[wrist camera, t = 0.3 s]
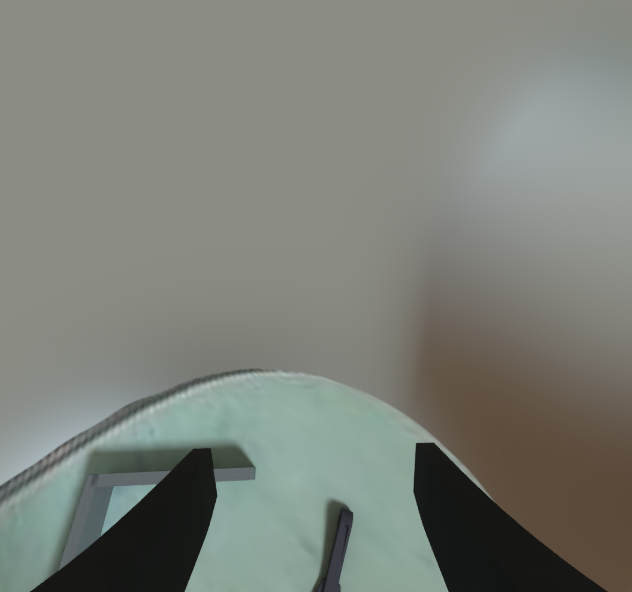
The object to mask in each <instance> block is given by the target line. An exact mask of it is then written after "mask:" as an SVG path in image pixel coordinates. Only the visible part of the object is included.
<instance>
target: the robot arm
mask: <svg viewBox="0 0 632 592" xmlns="http://www.w3.org/2000/svg"><path fill="white" fill-rule="evenodd" d="M413 491H414V495H415V499H416V503H417V506H418V510H419V513H420V517H421V520H422V524H423V527H424V529H425V532H426V535H427V537H428V540H429V542H430V545H431V548H432V550H433V553H434V555H435V558H436V561H437V563H438V566H439V568H440V571H441V573H442V576H443V578H444V581H445V584H446V586H447V589H448V591H449V592H607V591H606V590H604V589H603V588H602V587H600V586H599V585H597V584H596V583H595V582H593V581H592V580H590V579H589V578H587V577H586V576H585V575H583V574H582V573H580V572H579V571H578V570H576V569H575V568H574V567H572V566H571V565H570V564H568V563H567V562H566V561H564V560H563V559H561V558H560V557H559V556H558V555H557V554H556V553H554V552H553V551H552V550H550V549H549V548H548V547H547V546H545V545H544V544H543V543H542V542H540V541H539V540H537V539H536V538H535V537H534V536H533V535H532V534H530V533H529V532H528V531H527V530H525V529H524V528H523V527H522V526H521V525H520V524H518V523H517V522H516V521H515V520H514V519H513V518H512V517H510V516H509V515H508V514H507V513H506V512H505V511H504V510H502V509H501V508H500V507H499V506H498V505H497V504H496V503H495V502H494V501H492V500H491V499H490V498H489V497H488V496H487V495H486V494H485V493H484V492H483V491H482V490H481V489H480V488H479V487H478V486H477V485H476V484H475V483H474V482H472V481H471V480H470V479H469V478H468V477H467V476H466V475H465V474H464V473H463V472H462V471H461V470H460V469H459V468H458V467H457V466H456V465H455V464H454V463H453V462H452V461H451V460H450V459H449V458H448V457H447V455H446V454H445V453H444V452H443V451H442V450H441V449H440V448H439V447H438V446H437V445H436V444H435V443H416V453H415V471H414V490H413ZM216 499H217V490H216V483H215V476H214V469H213V461H212V454H211V448H204V449H193V450H192V451H191V452H190V453H189V454H188V455H187V456H186V457H185V458H184V459H183V460H182V461H181V462H180V463H179V464H178V465H177V466H176V467H175V468H174V469H173V470H172V471H171V472H170V473H168V474H167V475H166V476H165V477H164V478H163V479H162V480H161V481H160V482H159V483H158V484H157V485H156V486H155V487H154V488H153V489H152V490H151V491H150V492H149V493H148V494H147V495H146V496H145V497H144V498H143V499H142V500H141V501H140V502H139V503H138V504H137V505H135V506H134V507H133V508H132V509H131V510H130V511H129V512H128V513H127V514H125V515H124V516H123V517H122V518H121V519H120V520H119V521H118V522H117V523H116V524H114V525H113V526H112V527H111V528H110V529H109V530H108V531H107V532H105V533H104V534H103V535H102V536H101V537H100V538H98V539H97V540H96V541H95V542H94V543H92V544H91V545H90V546H89V547H88V548H86V549H85V550H84V551H83V552H81V553H80V554H79V555H78V556H76V557H75V558H74V559H73V560H71V561H70V562H69V563H68V564H66V565H65V566H64V567H63V568H61V569H60V570H59V571H57V572H56V573H55V574H53V575H52V576H51V577H49V578H48V579H47V580H45V581H44V582H43V583H41V584H40V585H39V586H37V587H36V588H34V589H33V590H32V591H30V592H185V589H186V587H187V584H188V581H189V579H190V576H191V574H192V571H193V569H194V566H195V563H196V561H197V558H198V555H199V553H200V550H201V548H202V545H203V542H204V540H205V537H206V534H207V531H208V528H209V525H210V521H211V518H212V514H213V510H214V506H215V503H216Z"/></svg>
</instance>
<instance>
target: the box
mask: <svg viewBox="0 0 632 592" xmlns="http://www.w3.org/2000/svg"><path fill="white" fill-rule="evenodd" d="M255 471H256V468H252V467H249V468H226V469H214V476H215V482H217V481H239V480H254V479H255ZM170 472H171V471H157V472H134V473H111V474H88V476H87V479H86V482H85V485H84V489H83V492H82V495H81V498H80V501H79V505H78V508H77V511H76V514H75V518H74V521H73V524H72V527H71V530H70V534H69V537H68V540H67V543H66V546H65V550H64V553H63V556H62V559H61V562H60V566H59V569H58V571H59V570H60V569H61V568H63V567H64V566H65V565H66V564H68V563H69V562H70V561H71V560H73V559H74V558H75V557H76V556H78V555H79V554H80V553H81V552H83V551H84V550H85V549H86V548H88V547H89V546H90V545H91V544H92V543H94V542H95V541H96V540H97V539H98V538H100V535H101V531H102V527H103V523H104V520H105V516H106V512H107V509H108V505H109V501H110V497H111V494H112V490H113V486H129V485H151V484H158V483H159V482H160V481H161V480H162V479H163V478H164V477H165V476H166V475H167V474H168V473H170Z"/></svg>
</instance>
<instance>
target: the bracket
mask: <svg viewBox="0 0 632 592" xmlns="http://www.w3.org/2000/svg"><path fill="white" fill-rule="evenodd" d="M352 522H353V512H351V511H348V510H346V509H343V508H342V509H341V512H340V516H339V521H338V525H337V530H336V534H335V539H334V543H333V548H332V552H331V557H330V561H329V566H328V571H327V575H326V578H323V579H322V581H321V583H320V585H319V587H318V589H317V591H316V592H341V591H340V584H339V579H340V574H341V570H342V566H343V561H344V557H345V553H346V549H347V545H348V540H349V536H350V533H351V528H352Z"/></svg>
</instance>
